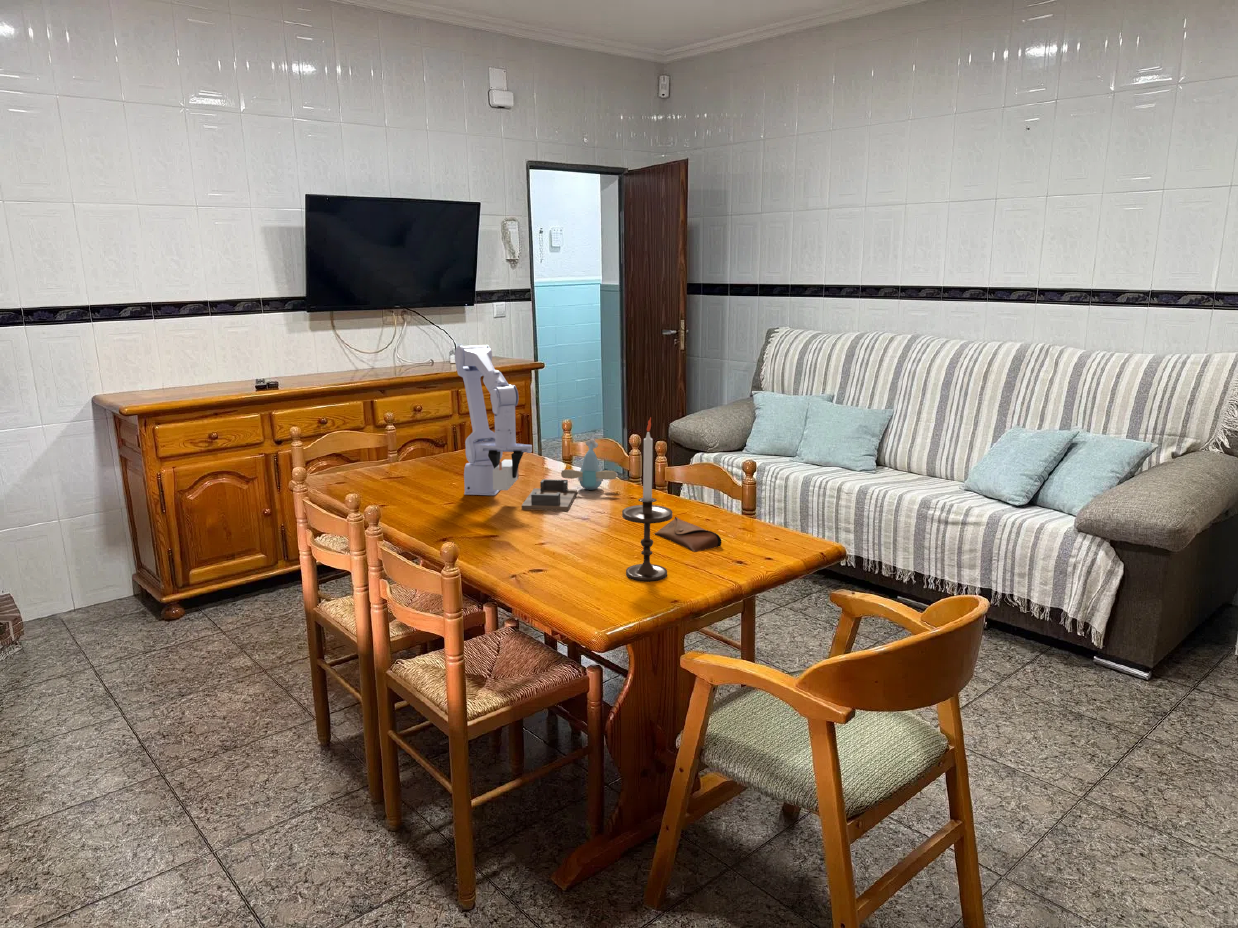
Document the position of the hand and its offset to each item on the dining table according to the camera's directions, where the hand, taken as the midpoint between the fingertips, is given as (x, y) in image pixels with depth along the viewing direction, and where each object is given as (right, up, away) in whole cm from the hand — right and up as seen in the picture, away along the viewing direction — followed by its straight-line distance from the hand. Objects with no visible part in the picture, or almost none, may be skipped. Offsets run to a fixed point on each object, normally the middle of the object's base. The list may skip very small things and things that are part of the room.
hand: (506, 476), depth 241 cm
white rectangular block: (0, -2, 0) cm, 2 cm away
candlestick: (+38, -21, -52) cm, 68 cm away
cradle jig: (+12, -7, +7) cm, 15 cm away
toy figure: (+23, -4, +21) cm, 31 cm away
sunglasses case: (+48, -16, -27) cm, 58 cm away
